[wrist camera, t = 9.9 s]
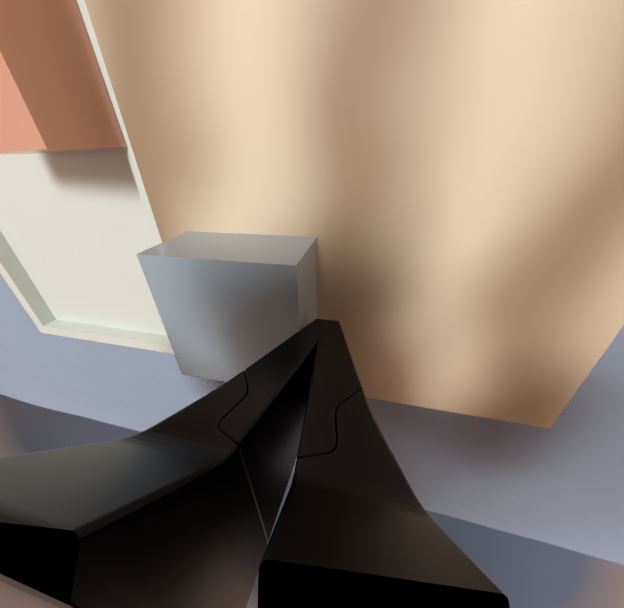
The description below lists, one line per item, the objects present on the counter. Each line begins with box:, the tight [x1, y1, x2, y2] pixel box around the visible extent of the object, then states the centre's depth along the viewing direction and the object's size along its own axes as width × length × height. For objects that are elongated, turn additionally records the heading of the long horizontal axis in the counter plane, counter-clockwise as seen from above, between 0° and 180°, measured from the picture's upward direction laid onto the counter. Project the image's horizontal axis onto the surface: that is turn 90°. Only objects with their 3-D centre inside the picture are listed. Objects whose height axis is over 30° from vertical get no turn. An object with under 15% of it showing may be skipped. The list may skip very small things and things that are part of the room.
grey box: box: [136, 231, 318, 382], centre depth 10 cm, size 5×5×2 cm
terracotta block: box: [0, 0, 127, 155], centre depth 8 cm, size 5×5×2 cm
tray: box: [0, 0, 174, 354], centre depth 12 cm, size 12×18×1 cm, turn 2°
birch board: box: [84, 0, 624, 429], centre depth 9 cm, size 16×18×2 cm
